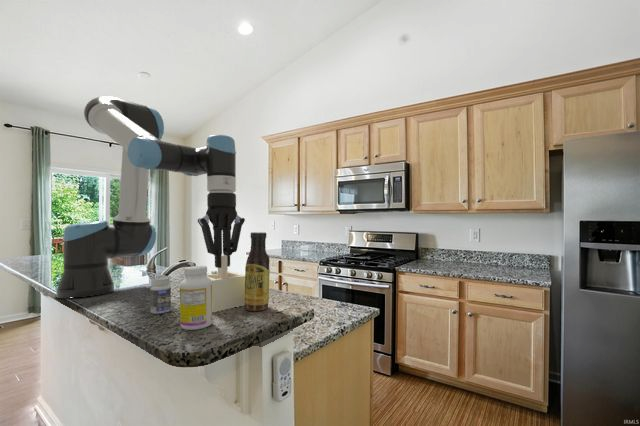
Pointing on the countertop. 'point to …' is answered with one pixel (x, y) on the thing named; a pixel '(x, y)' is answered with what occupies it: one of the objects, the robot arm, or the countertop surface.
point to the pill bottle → (160, 295)
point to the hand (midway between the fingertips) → (222, 279)
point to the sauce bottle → (257, 274)
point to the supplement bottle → (195, 299)
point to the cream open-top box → (227, 290)
